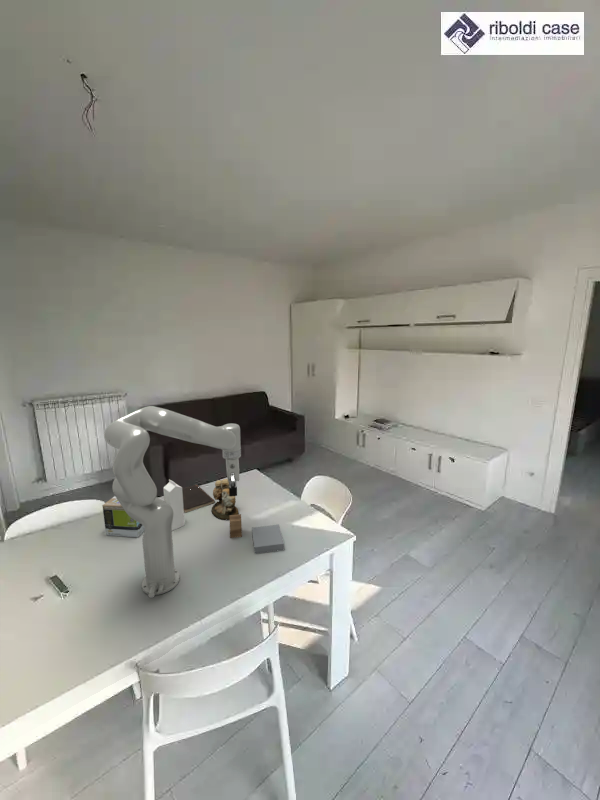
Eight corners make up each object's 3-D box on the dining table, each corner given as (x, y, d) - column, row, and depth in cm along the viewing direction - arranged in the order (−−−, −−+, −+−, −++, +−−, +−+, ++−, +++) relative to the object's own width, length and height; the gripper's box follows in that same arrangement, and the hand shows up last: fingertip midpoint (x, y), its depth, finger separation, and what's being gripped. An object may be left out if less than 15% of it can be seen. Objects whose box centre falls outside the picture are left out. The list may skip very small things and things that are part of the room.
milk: (172, 530, 151) (168, 485, 146) (166, 525, 155) (162, 481, 150) (184, 525, 155) (181, 481, 151) (178, 520, 159) (175, 476, 155)
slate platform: (283, 550, 139) (283, 543, 138) (254, 553, 136) (254, 547, 136) (278, 530, 152) (278, 524, 152) (251, 533, 150) (251, 527, 149)
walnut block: (241, 536, 147) (241, 520, 146) (230, 538, 146) (229, 521, 145) (241, 530, 152) (240, 514, 151) (230, 531, 151) (229, 515, 149)
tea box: (150, 525, 155) (147, 495, 152) (137, 538, 145) (134, 507, 142) (119, 522, 156) (116, 493, 153) (105, 535, 147) (101, 504, 144)
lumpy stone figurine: (204, 508, 170) (203, 477, 167) (225, 501, 178) (224, 470, 174) (223, 523, 157) (222, 489, 154) (244, 515, 165) (244, 482, 161)
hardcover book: (184, 514, 165) (184, 509, 165) (169, 496, 183) (168, 492, 182) (215, 503, 175) (215, 499, 175) (197, 487, 193) (197, 484, 192)
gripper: (241, 460, 134) (242, 499, 138) (239, 445, 151) (240, 480, 155) (222, 461, 133) (224, 501, 136) (222, 446, 149) (224, 482, 153)
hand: (232, 490), depth 145 cm, fingers open, 9 cm apart
